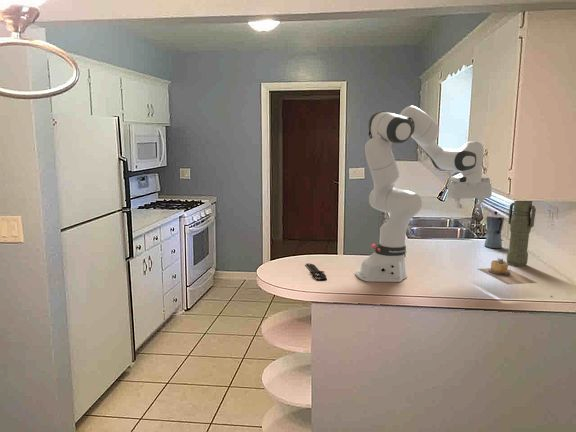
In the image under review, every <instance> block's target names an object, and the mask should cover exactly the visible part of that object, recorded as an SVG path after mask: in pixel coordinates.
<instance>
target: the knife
mask: <svg viewBox="0 0 576 432" xmlns="http://www.w3.org/2000/svg"><path fill="white" fill-rule="evenodd" d="M305 266H306V268H307V269H308V270H309V274H310V275H312V277H314V278H315V279H316V281H317V282H323V281H328V279H327V274H325V271H324V270H320V269H319V268H318V267H317V266H316V265H315V264H312V263H306V264H305ZM314 278H313V279H314Z"/></svg>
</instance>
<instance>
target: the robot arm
mask: <svg viewBox="0 0 576 432" xmlns="http://www.w3.org/2000/svg"><path fill="white" fill-rule="evenodd" d="M439 134H440V127H439V125H438V123H437V121H435V120H434V119H433V118H432V117H431V116H430V115H428V113H426V112H425V111H424V110H422V109H420V108H419V107H417V106H415V105H410V106H406V107H404V109H402V110H401V112H399V114H396V113H394V112H388V111H385V110H383V111H377V112H375V113H373V114H372V115H371V116H370V118H369V121H368V136H369V138H370V139H368V140H367V142H366V143H365V145H364V152H365V158H366V162H367V167H368V169H369V171H370V175H371V178H372V181H373V189H372V190H371V191H370V193H369V196H368V202H369V205H370V207H371V208H373V209H375V210H376V211H379V212H382V213H383V212H384V213H387V214H389V219H388V220H387V221H386V222H385V223H383V224H382V225H381V226H380V228H379V243H378V244H377V245H376V244H375V243H372V244H371V248H372V249H374V252H373V253H372V254H370V255H369V256H368V257H366V258H364V259H363V261H362V263H361V265H360V269H356V271H355V276H356V277H357V278H358V279H360V280H362V281H364V282H367V283H370V282H373V283H375V282H377V283H378V282H381V283H383V282H384V283H389V282H390V283H399V282H403V280H405V279H407V278H408V274H407V270H406V259H405V257H406V253H407V245H406V235H407V230H408V226H409V223H410V221H412V219H413V218H414V217H415V216H416V215H418V214H419V213H420V211H422V210H421V209H422V205H423V201H422V198H421V196H420V195H419V193H416V192H413V191H411V190H408V189H403V188H402V189H400V188H397V187H396V186H395V183H396V182H397V181H398V179H399V178H400V172H399V168H398V165H397V162H396V159H395V157H394V156H395V155H394V153H393V149H392V147H393V146H392V145H393V144H403V143H405V142H407V141H408V140H409V139H410V138H412V140H414V141H415V143H416V145H417V146H419V148H420V149H421V151H423V152H424V153H425V154H426V155H427V157H428V158H429V160H430V161H431V164H432V165H433V167H434V168H435V169H437V170H439V171H452V172H460V173H458V174H454V175H453V176H450V179H449V180H450V182H449V184H448V188H447V197H448V198H449V199H453V200H454V201H455V204H456V208H457V209H462V207H463V204H461V199H463V200H464V199H478V201H477V203H475V206H474V207H475V208H476V209H481V208H482V207H481V204H482V203H483V202H484V199H490V198H491V197H492V192H493V191H492V183H491V184H490V179H491V178H489V177H483V169H482V168H483V167H482V166H483V163H484V146H483V144H482V143H480V142H478V141H471V140H470V141H465V143H464V144H463V145H462V146H461V147H459V148H446V147H441V146H439V145H438V144H437V142H436V140H437V138H438V136H439Z"/></svg>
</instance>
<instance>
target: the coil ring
mask: <svg viewBox="0 0 576 432" xmlns="http://www.w3.org/2000/svg"><path fill="white" fill-rule="evenodd" d="M490 268H491V271H493V272H496V273H507V272H508V269H509V265H508V263H507V261H505V260H503V264H500V263H497V259H495V260H492V261H491V263H490Z"/></svg>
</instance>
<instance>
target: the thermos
mask: <svg viewBox="0 0 576 432" xmlns="http://www.w3.org/2000/svg"><path fill="white" fill-rule="evenodd" d="M536 211H537V209H536V207H535V205H533V200H532V201H514V200H513V202H511V204H509V211H508V225H509V231H510V236H509V247H508V251H507V254H506V262H507V263H508V266H515V267H525V266H527V264H528V259H529V253H528V249H529V237H530V233H531V231H532V228H534V226H535V225H534V224H535V220H536V219H535V217H536Z"/></svg>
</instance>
